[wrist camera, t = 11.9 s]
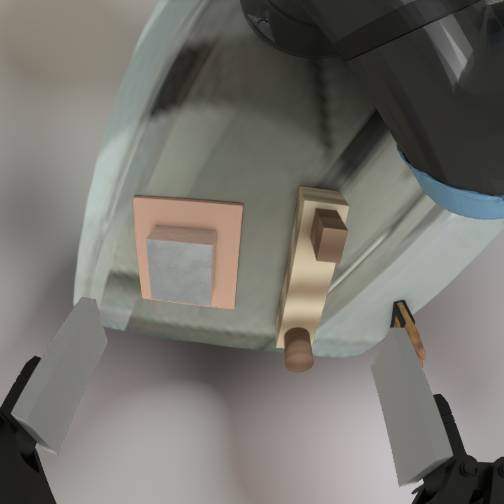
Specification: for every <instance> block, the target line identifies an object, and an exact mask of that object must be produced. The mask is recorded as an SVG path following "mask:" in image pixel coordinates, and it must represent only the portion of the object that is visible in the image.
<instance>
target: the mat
mask: <svg viewBox="0 0 504 504" xmlns="http://www.w3.org/2000/svg"><path fill="white" fill-rule="evenodd" d="M133 207H134V222H135V235H136V246H137V256H138V265H139V274H140V282H141V290H142V297H143V298H144V299H151V300H155V299H152V297H151V288H150V279H149V269H148V258H147V246H146V238H147V237H148V235H149V234H150V232H151V231H152V229H153V228H154V227H155V225H166V226H177V227H189V228H200V229H211V230H217V237H216V261H215V288H214V293H213V298H212V302H211V306H207V307H216V308H226V309H234V307H235V295H236V283H237V271H238V258H239V247H240V235H241V223H242V212H243V204H242V203H231V202H219V201H208V200H195V199H182V198H167V197H151V196H134V197H133ZM158 301H163V300H158ZM166 302H170V301H166ZM174 303H178V302H174ZM182 304H186V303H182ZM190 305H195V304H190ZM198 306H204V305H198Z"/></svg>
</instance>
